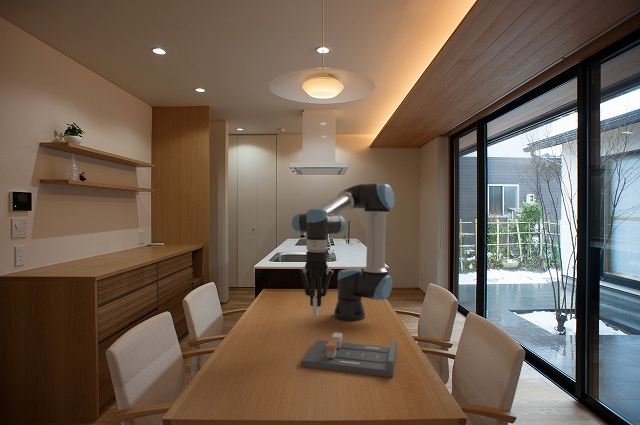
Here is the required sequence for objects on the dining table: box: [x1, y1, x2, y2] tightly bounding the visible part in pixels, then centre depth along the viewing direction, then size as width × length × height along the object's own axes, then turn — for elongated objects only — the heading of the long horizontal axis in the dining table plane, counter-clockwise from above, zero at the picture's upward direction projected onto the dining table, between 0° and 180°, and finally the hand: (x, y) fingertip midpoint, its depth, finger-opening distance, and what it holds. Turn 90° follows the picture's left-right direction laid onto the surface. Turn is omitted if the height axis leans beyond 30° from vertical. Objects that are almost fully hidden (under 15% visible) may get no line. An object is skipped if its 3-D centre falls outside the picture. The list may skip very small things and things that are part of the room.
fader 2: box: [331, 332, 343, 349], centre depth 136 cm, size 4×3×4 cm
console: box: [301, 338, 398, 378], centre depth 130 cm, size 20×30×5 cm, turn 75°
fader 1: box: [326, 340, 337, 358], centre depth 127 cm, size 4×3×4 cm
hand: (315, 314), depth 138 cm, fingers closed
